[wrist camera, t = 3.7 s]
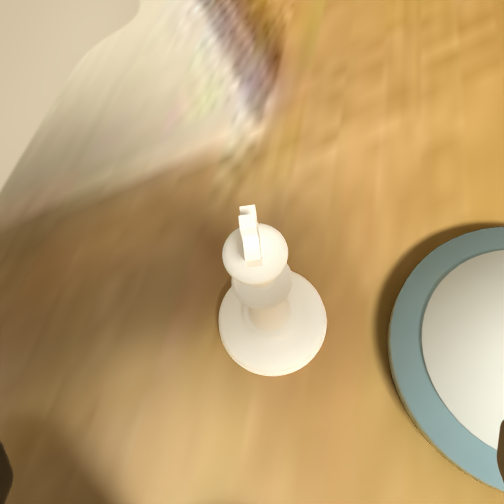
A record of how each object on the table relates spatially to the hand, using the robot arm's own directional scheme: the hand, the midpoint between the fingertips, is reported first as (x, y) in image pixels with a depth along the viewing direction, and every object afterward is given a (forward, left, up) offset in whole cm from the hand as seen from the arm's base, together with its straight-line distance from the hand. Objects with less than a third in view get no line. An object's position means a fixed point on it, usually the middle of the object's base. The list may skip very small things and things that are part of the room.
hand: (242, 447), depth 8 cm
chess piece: (+5, -3, -12) cm, 13 cm away
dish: (-2, -11, -12) cm, 16 cm away
